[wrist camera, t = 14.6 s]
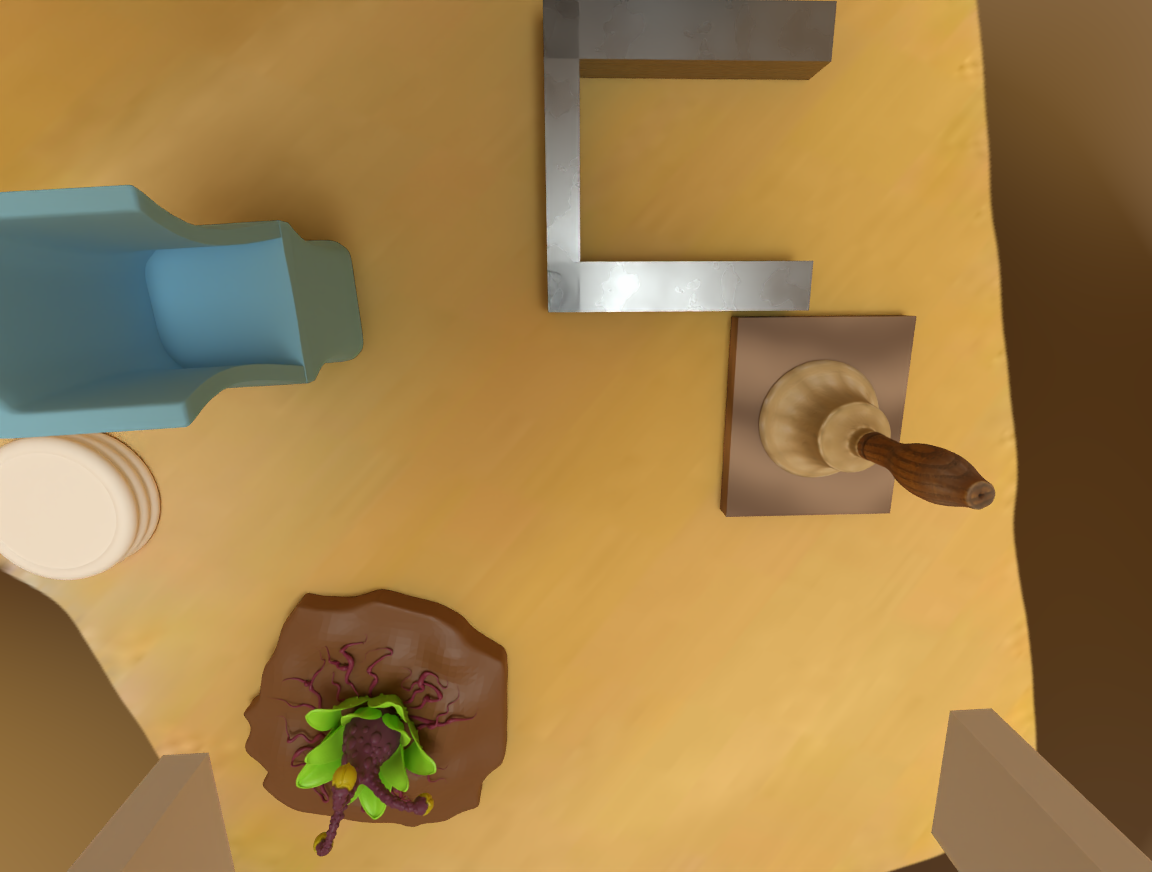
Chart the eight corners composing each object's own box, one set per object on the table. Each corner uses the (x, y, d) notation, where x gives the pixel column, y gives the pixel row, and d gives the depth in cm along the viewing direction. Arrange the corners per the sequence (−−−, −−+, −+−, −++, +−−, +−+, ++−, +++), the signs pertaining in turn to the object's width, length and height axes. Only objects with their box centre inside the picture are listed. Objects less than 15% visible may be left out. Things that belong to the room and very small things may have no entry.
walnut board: (731, 316, 40) (738, 317, 38) (903, 315, 40) (916, 316, 39) (720, 509, 43) (726, 516, 42) (878, 505, 44) (889, 513, 42)
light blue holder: (366, 360, 39) (188, 428, 20) (248, 368, 39) (-46, 444, 20) (348, 238, 37) (131, 182, 18) (224, 245, 37) (-130, 197, 18)
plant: (536, 615, 45) (532, 717, 34) (487, 816, 49) (469, 964, 39) (273, 565, 43) (180, 657, 32) (246, 779, 48) (156, 923, 37)
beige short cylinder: (189, 536, 42) (157, 557, 39) (61, 576, 42) (19, 601, 39) (121, 407, 40) (81, 417, 36) (-14, 451, 40) (-66, 466, 37)
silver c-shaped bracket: (543, 21, 35) (542, -4, 32) (813, 24, 36) (836, 1, 33) (548, 310, 39) (548, 312, 36) (789, 308, 40) (808, 310, 37)
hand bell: (735, 443, 40) (850, 538, 25) (801, 337, 39) (969, 368, 23) (832, 496, 42) (998, 618, 26) (900, 395, 40) (1120, 462, 25)
